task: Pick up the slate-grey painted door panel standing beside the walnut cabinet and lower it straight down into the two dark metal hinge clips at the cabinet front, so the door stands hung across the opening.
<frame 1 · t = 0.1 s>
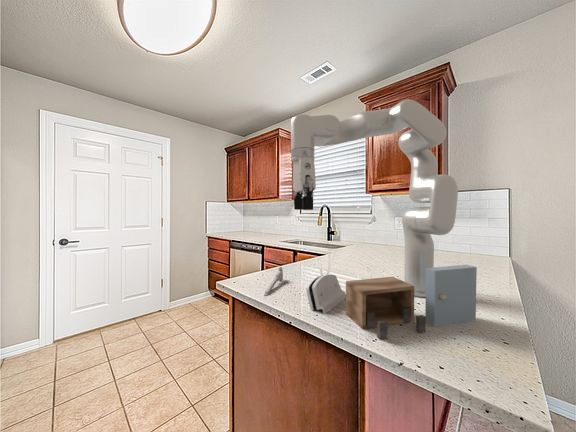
hand: (303, 209, 77), 31 cm above the worktop, tool pointing down, fingers open, 9 cm apart
cabinet: (378, 317, 68), on the worktop
door: (450, 321, 66), on the worktop
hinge: (326, 303, 80), on the worktop
caliper: (274, 287, 96), on the worktop
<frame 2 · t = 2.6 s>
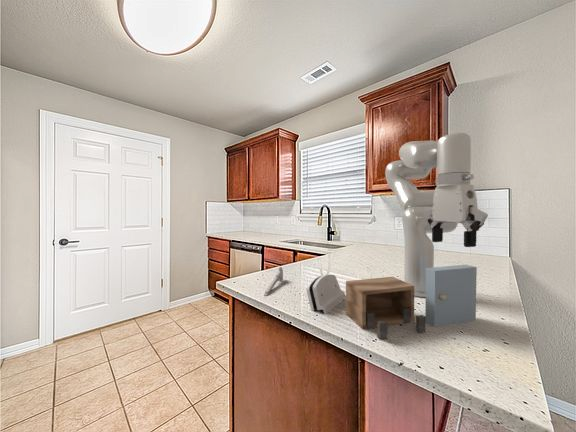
hand: (452, 244, 65), 22 cm above the worktop, tool pointing down, fingers open, 9 cm apart
nothing on the worktop moved.
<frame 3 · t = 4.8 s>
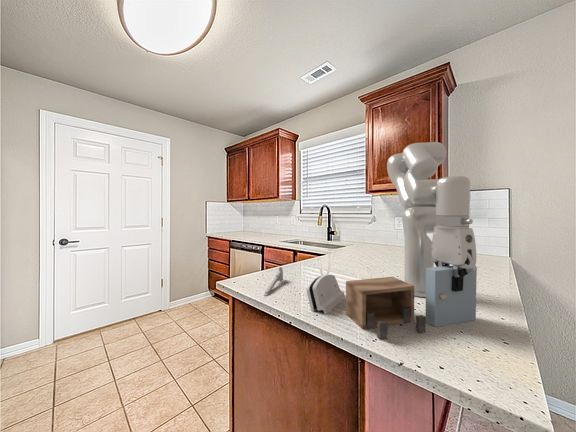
hand: (451, 288, 66), 9 cm above the worktop, tool pointing down, fingers closed on door, 3 cm apart
door: (450, 320, 66), on the worktop, touching gripper
everything else where it was.
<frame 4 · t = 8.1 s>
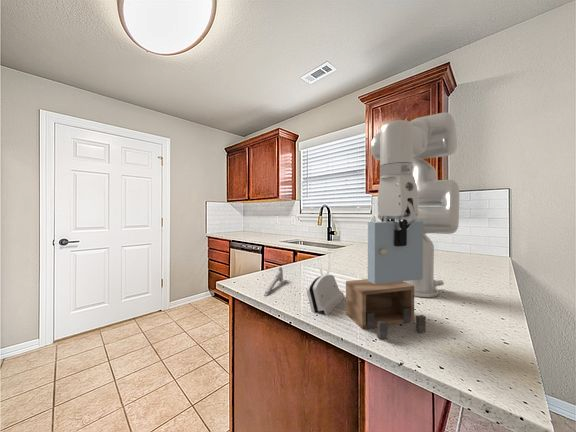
hand: (395, 244, 61), 22 cm above the worktop, tool pointing down, fingers closed on door, 3 cm apart
door: (395, 279, 61), point 13 cm above the worktop, touching gripper
everything else where it was.
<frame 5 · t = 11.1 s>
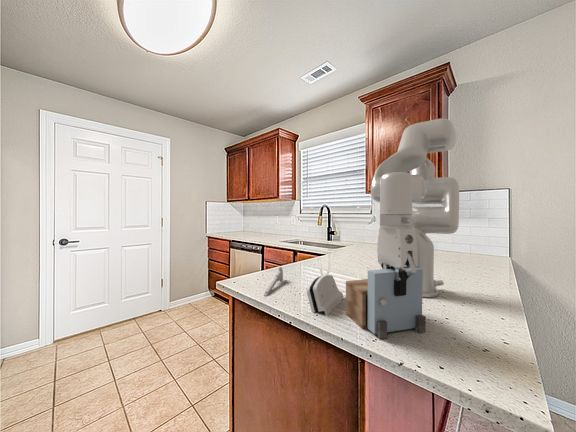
hand: (395, 292, 61), 10 cm above the worktop, tool pointing down, fingers closed on door, 3 cm apart
door: (394, 327, 62), point 1 cm above the worktop, touching gripper
when the fingers open (10 cm above the worktop, at t = 11.5 s): door stays where it is, on the worktop.
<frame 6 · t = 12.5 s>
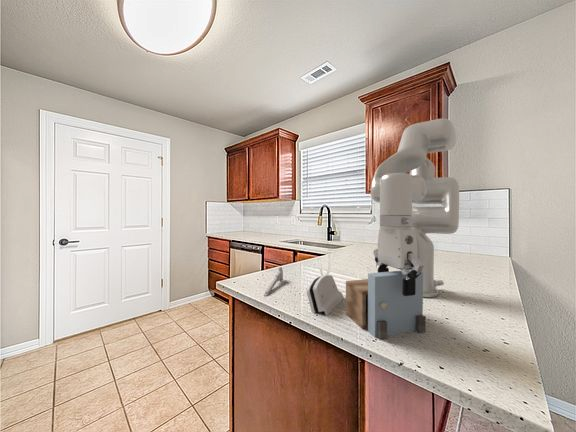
hand: (395, 288, 61), 11 cm above the worktop, tool pointing down, fingers open, 9 cm apart
door: (395, 330, 62), on the worktop
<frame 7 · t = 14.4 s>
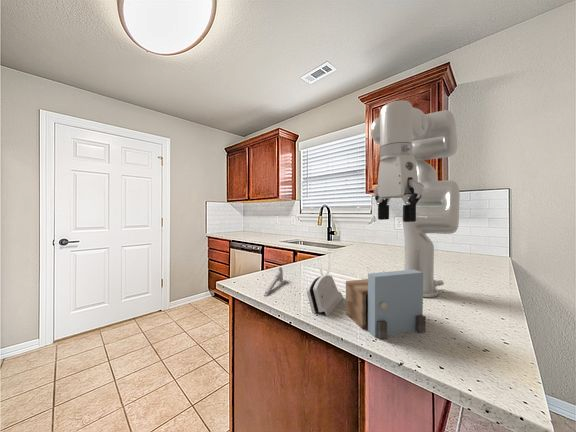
hand: (395, 220, 62), 28 cm above the worktop, tool pointing down, fingers open, 9 cm apart
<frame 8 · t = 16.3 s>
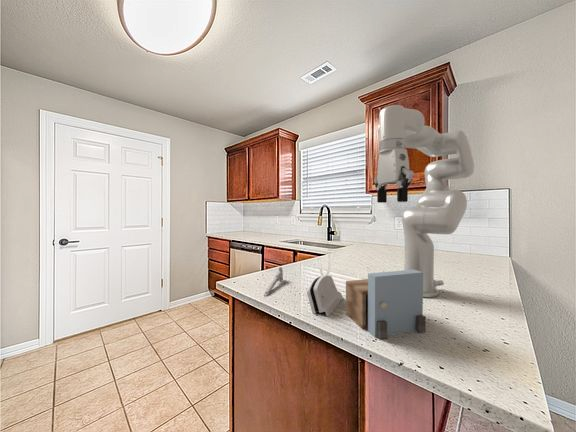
hand: (391, 202, 76), 33 cm above the worktop, tool pointing down, fingers open, 9 cm apart
at the end: door 0.3 cm from the target spot on the cabinet, point 0.0 cm above the cabinet's base; door tilted 0°; the gripper is holding nothing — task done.
